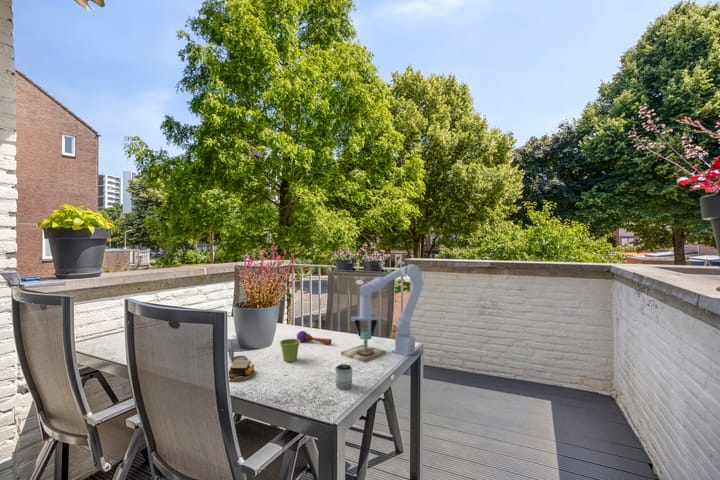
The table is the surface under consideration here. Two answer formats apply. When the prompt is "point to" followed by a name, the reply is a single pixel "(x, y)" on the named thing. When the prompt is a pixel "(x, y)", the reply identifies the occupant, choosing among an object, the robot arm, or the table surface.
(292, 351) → the plant pot
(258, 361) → the table surface
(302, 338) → the kendama
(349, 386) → the camera lens
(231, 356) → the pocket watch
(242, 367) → the toy sandwich meal
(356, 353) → the gear board
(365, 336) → the teal faceted ring
